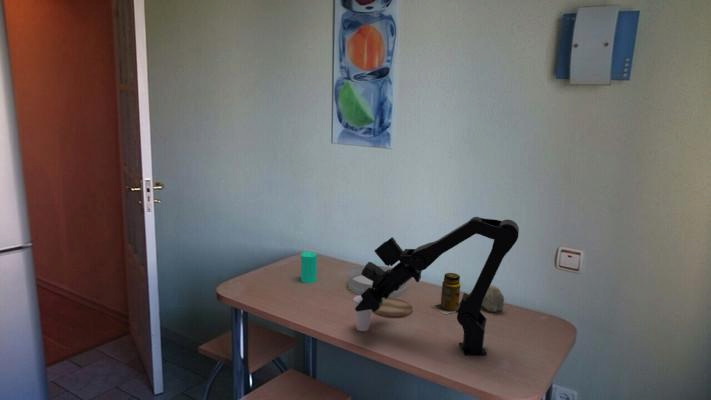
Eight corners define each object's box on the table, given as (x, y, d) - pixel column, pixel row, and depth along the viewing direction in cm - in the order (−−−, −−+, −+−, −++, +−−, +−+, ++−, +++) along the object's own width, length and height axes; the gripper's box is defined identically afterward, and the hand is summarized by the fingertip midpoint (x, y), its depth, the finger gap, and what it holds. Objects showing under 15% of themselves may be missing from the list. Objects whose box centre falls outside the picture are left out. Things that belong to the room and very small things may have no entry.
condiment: (463, 310, 171) (466, 276, 168) (445, 314, 166) (448, 280, 164) (448, 302, 176) (451, 270, 174) (430, 307, 172) (433, 273, 169)
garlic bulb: (500, 320, 169) (510, 298, 164) (476, 314, 170) (485, 292, 165) (497, 301, 177) (506, 280, 173) (474, 296, 178) (482, 274, 173)
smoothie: (348, 329, 152) (350, 286, 149) (358, 322, 157) (360, 280, 155) (367, 335, 149) (369, 290, 146) (376, 327, 154) (378, 284, 152)
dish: (393, 304, 174) (394, 290, 173) (337, 291, 183) (338, 278, 182) (414, 284, 193) (415, 272, 192) (363, 273, 203) (363, 262, 202)
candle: (298, 278, 193) (299, 248, 191) (313, 276, 196) (313, 247, 193) (303, 283, 188) (304, 253, 186) (318, 282, 190) (319, 251, 188)
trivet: (415, 318, 162) (415, 314, 162) (372, 317, 161) (373, 314, 161) (408, 301, 176) (408, 298, 176) (368, 300, 175) (368, 297, 175)
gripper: (387, 247, 156) (352, 276, 162) (369, 265, 139) (331, 296, 144) (410, 275, 155) (374, 302, 161) (395, 296, 138) (355, 326, 143)
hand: (359, 306), depth 152 cm, fingers closed on smoothie, 6 cm apart
